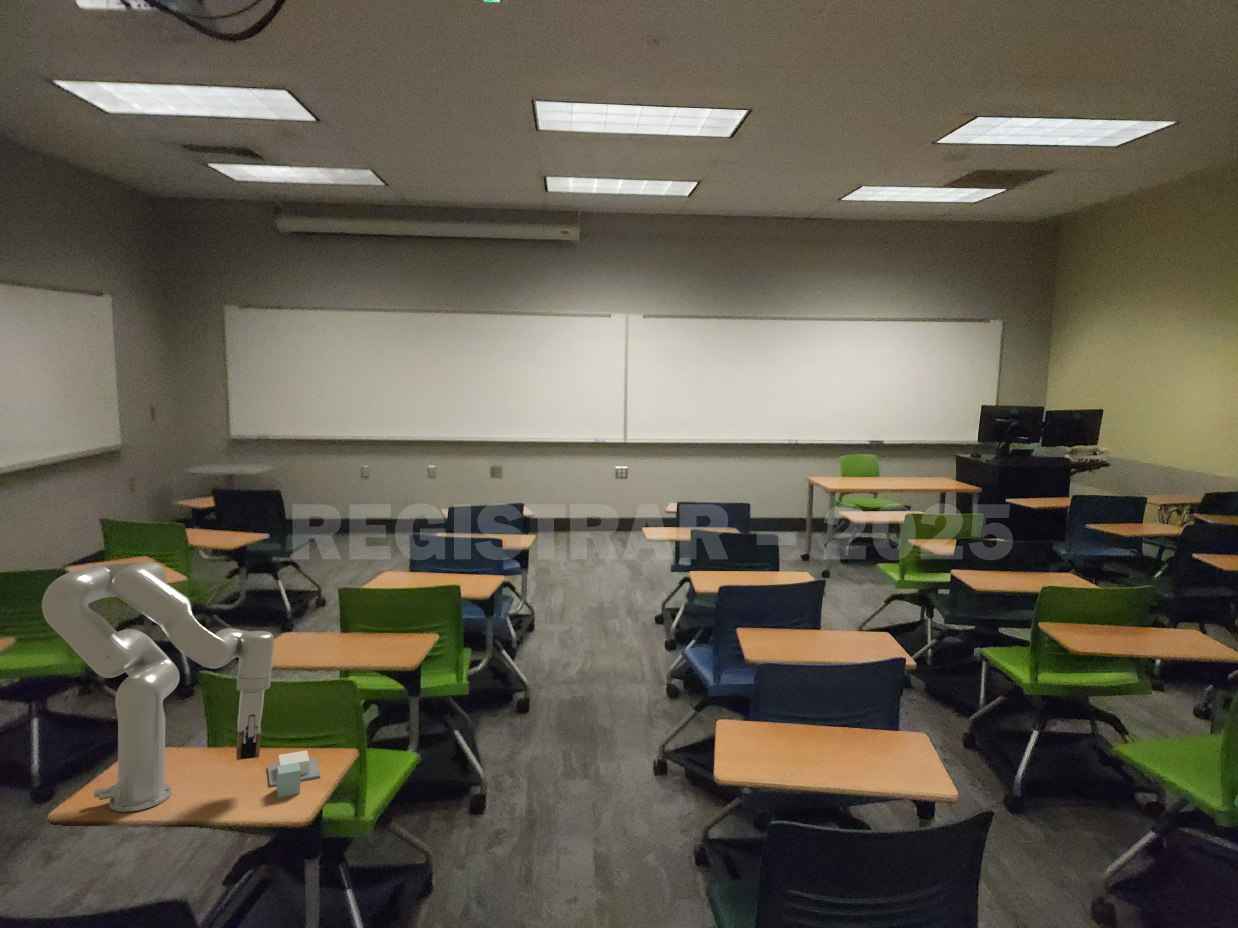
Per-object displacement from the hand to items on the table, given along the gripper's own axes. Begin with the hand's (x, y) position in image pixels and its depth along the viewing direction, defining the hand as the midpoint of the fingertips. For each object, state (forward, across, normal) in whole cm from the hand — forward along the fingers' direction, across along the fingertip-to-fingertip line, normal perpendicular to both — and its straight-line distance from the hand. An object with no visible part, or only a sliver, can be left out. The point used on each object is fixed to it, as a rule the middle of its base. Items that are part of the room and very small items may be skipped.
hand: (247, 752), depth 175 cm
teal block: (+9, +4, +10) cm, 14 cm away
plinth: (+9, -6, +12) cm, 16 cm away
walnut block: (+1, 0, 0) cm, 1 cm away
